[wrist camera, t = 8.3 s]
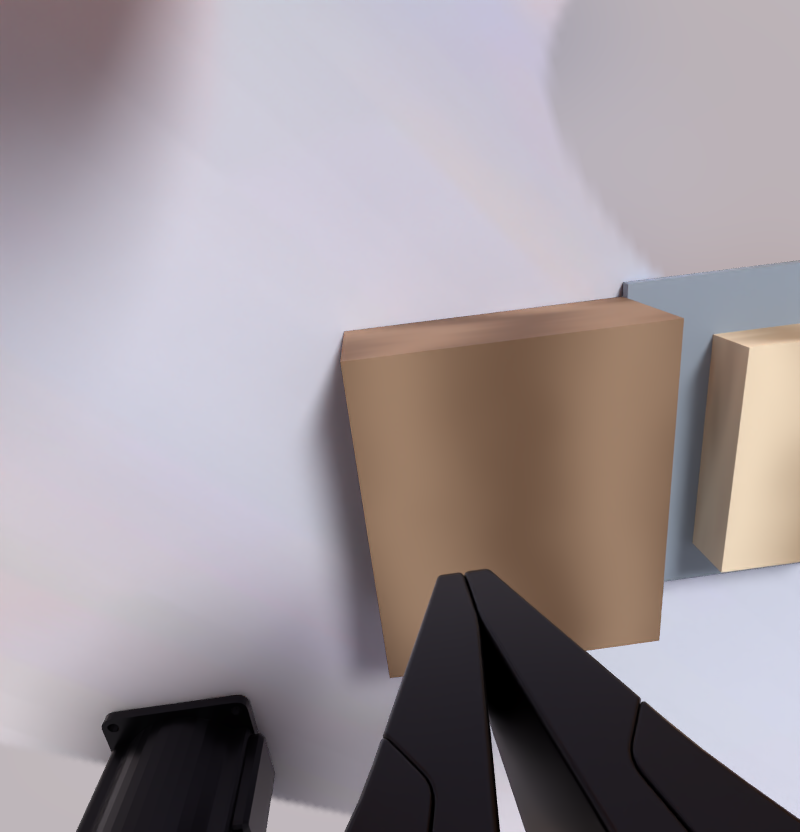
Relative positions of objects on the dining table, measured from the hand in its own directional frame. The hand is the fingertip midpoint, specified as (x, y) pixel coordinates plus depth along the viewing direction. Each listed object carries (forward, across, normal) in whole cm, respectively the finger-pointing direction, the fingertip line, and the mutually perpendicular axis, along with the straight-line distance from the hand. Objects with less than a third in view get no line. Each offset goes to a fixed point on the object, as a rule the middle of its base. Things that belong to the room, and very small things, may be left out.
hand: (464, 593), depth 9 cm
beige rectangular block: (+10, -14, +4) cm, 18 cm away
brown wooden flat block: (+12, -3, +4) cm, 13 cm away
